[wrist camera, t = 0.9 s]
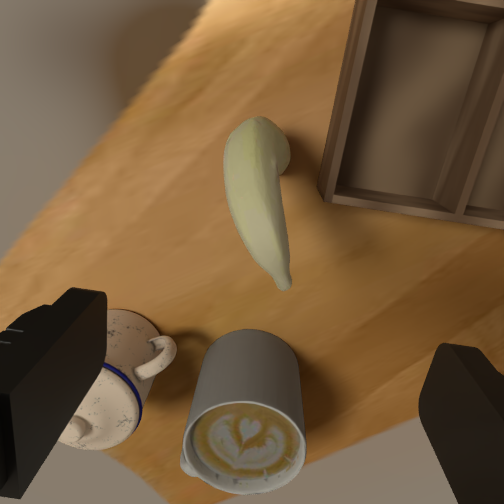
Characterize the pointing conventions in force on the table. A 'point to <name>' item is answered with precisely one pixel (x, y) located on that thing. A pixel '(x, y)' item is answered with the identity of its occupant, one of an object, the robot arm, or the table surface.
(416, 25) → the walnut crate
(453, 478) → the robot arm
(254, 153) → the fruit
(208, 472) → the coffee mug
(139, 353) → the teacup with lid
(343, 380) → the table surface
